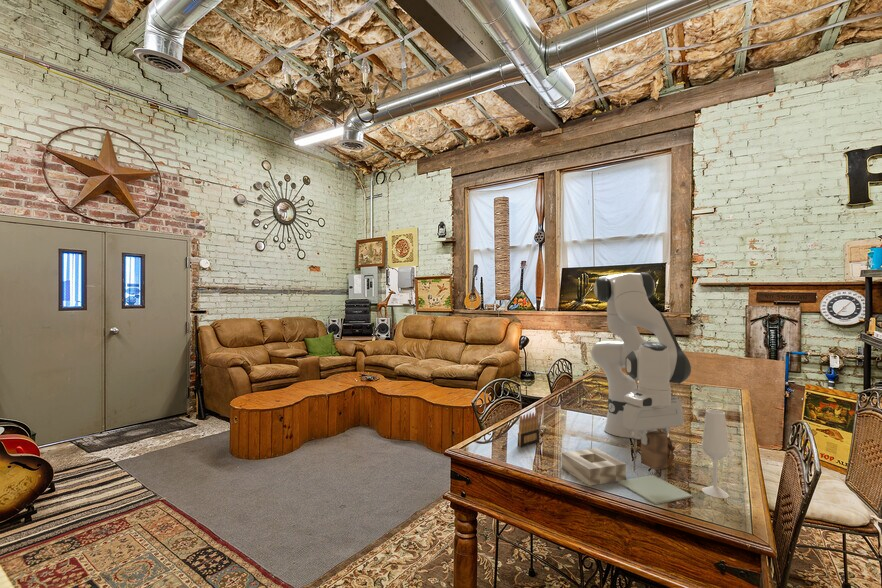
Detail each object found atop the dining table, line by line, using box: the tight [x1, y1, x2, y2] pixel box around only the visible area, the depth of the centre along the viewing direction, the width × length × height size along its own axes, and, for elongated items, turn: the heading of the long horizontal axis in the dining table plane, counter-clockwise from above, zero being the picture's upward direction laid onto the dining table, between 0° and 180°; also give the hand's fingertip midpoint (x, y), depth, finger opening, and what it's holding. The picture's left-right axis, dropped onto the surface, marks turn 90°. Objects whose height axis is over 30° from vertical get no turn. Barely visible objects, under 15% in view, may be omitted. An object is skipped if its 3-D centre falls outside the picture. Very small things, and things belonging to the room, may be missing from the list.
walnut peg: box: [640, 429, 669, 471], centre depth 121 cm, size 5×5×10 cm
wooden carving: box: [658, 436, 676, 471], centre depth 138 cm, size 16×5×10 cm, turn 137°
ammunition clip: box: [517, 411, 540, 448], centre depth 159 cm, size 11×2×12 cm, turn 126°
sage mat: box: [617, 474, 693, 505], centre depth 121 cm, size 14×14×1 cm
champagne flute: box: [701, 409, 730, 499], centre depth 120 cm, size 7×7×24 cm
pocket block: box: [561, 447, 627, 487], centre depth 132 cm, size 14×14×5 cm
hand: (653, 443), depth 122 cm, fingers closed on walnut peg, 5 cm apart
